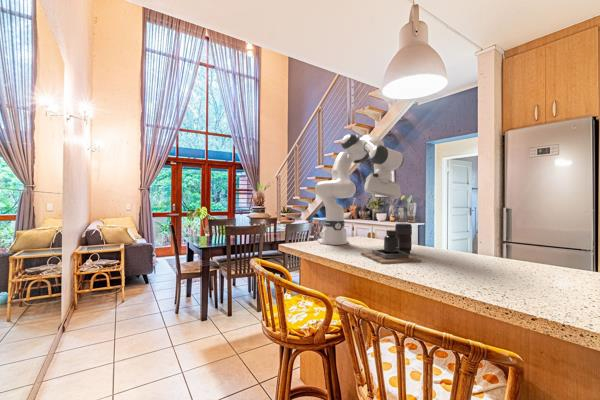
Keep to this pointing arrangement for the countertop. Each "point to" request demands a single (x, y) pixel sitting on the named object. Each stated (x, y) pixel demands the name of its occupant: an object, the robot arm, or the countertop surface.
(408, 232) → the camera lens
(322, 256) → the countertop surface
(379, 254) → the collar dock
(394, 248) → the supplement bottle
